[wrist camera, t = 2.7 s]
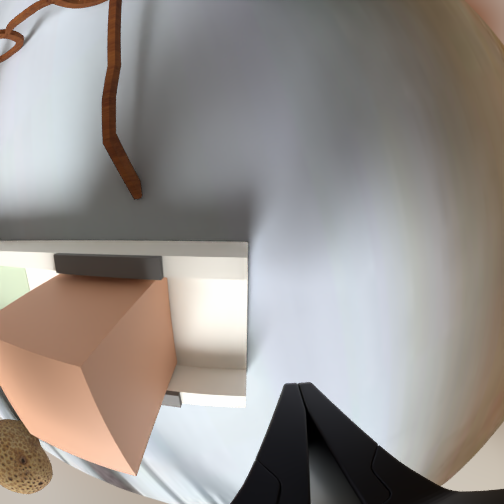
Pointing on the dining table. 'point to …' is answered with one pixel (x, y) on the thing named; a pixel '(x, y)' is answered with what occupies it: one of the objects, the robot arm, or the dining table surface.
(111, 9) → the glasses
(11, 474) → the natural sponge
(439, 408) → the dining table surface
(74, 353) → the block
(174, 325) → the chute
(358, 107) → the dining table surface
